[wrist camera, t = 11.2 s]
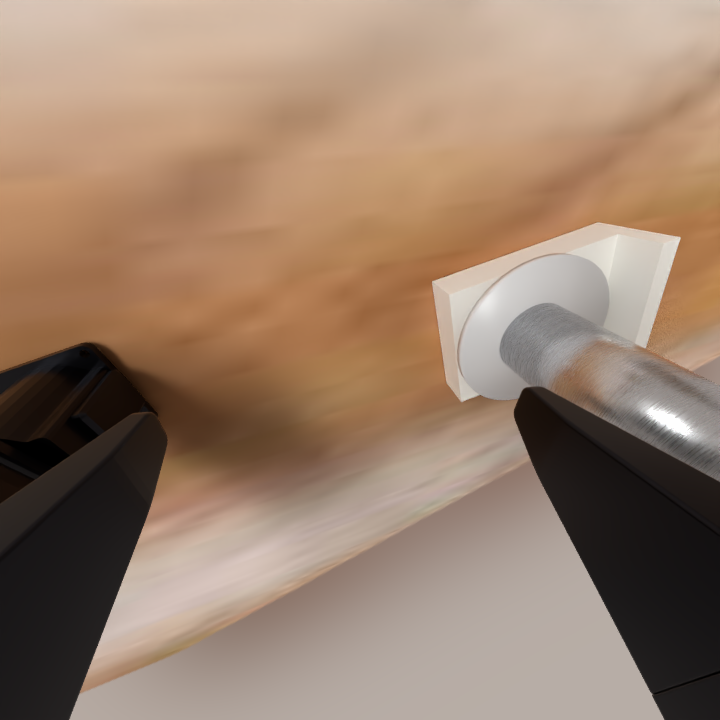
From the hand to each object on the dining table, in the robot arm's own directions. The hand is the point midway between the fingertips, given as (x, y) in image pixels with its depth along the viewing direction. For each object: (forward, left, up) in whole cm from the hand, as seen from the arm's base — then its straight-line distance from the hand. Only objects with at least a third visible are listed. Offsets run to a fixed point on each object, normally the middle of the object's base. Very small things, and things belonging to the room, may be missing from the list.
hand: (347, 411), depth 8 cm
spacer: (+12, -8, -9) cm, 17 cm away
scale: (+13, -8, -13) cm, 20 cm away
